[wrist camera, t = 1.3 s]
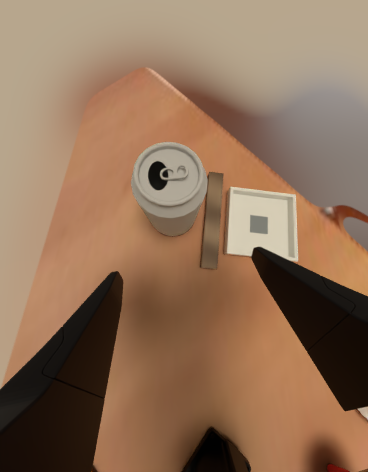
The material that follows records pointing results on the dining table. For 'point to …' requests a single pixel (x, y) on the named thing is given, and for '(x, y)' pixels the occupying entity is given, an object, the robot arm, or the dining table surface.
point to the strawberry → (335, 468)
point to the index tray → (260, 223)
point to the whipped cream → (364, 411)
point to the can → (169, 186)
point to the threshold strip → (212, 221)
